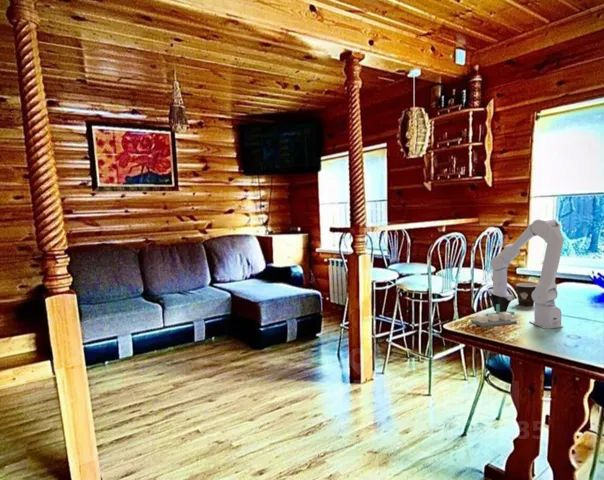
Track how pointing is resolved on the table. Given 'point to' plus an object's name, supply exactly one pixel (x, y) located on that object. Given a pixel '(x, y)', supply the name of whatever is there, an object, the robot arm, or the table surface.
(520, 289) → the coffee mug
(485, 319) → the display stand
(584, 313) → the table surface
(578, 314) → the table surface
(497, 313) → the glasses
